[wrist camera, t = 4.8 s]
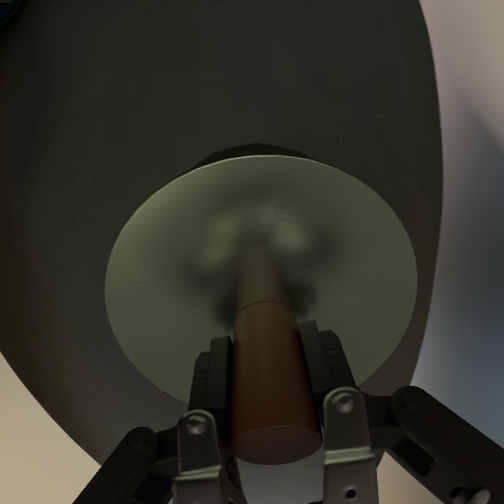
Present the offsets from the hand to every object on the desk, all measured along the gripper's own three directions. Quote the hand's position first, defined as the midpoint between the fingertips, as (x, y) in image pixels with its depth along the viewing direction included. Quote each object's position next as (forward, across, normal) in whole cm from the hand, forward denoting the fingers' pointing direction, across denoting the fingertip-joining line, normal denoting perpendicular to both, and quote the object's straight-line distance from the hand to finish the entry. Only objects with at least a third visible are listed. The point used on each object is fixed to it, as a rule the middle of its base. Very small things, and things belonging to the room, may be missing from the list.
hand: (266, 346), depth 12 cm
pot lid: (+2, 0, 0) cm, 2 cm away
